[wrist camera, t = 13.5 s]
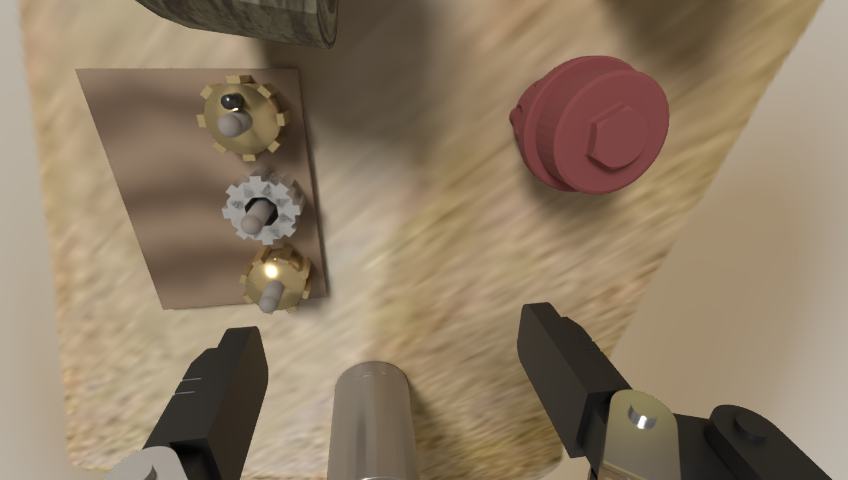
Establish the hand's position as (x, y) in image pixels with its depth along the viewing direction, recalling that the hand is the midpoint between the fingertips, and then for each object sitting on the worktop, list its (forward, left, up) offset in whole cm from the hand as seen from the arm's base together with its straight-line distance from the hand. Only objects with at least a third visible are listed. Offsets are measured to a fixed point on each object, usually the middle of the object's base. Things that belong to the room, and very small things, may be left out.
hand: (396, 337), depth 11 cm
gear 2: (-12, +10, -25) cm, 29 cm away
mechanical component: (+3, -16, -26) cm, 31 cm away
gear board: (-4, +14, -26) cm, 30 cm away
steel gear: (-4, +10, -25) cm, 27 cm away
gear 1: (+4, +10, -25) cm, 27 cm away
